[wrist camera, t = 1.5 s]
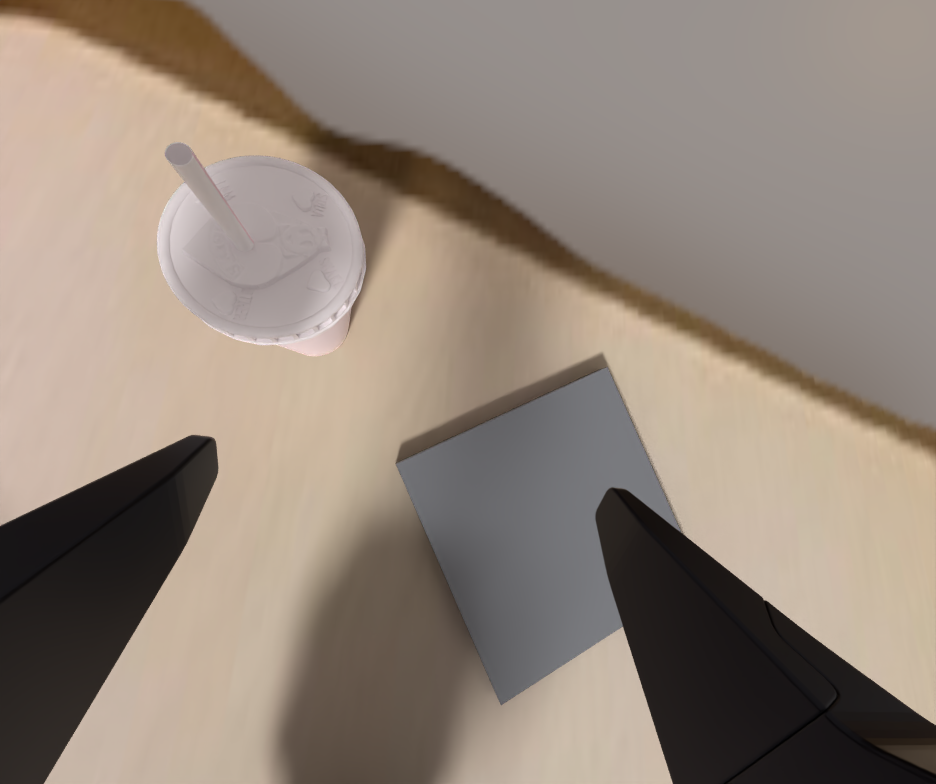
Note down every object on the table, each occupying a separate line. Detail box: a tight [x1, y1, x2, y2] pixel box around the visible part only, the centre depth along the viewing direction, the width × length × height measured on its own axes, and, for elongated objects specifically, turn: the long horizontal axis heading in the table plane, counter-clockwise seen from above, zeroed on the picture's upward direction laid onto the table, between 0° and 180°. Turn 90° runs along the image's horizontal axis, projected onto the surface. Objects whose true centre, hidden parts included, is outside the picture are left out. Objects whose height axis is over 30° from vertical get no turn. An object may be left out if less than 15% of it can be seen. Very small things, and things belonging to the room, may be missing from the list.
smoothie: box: [157, 142, 366, 356], centre depth 16 cm, size 6×6×14 cm
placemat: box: [396, 367, 681, 705], centre depth 24 cm, size 14×14×1 cm
